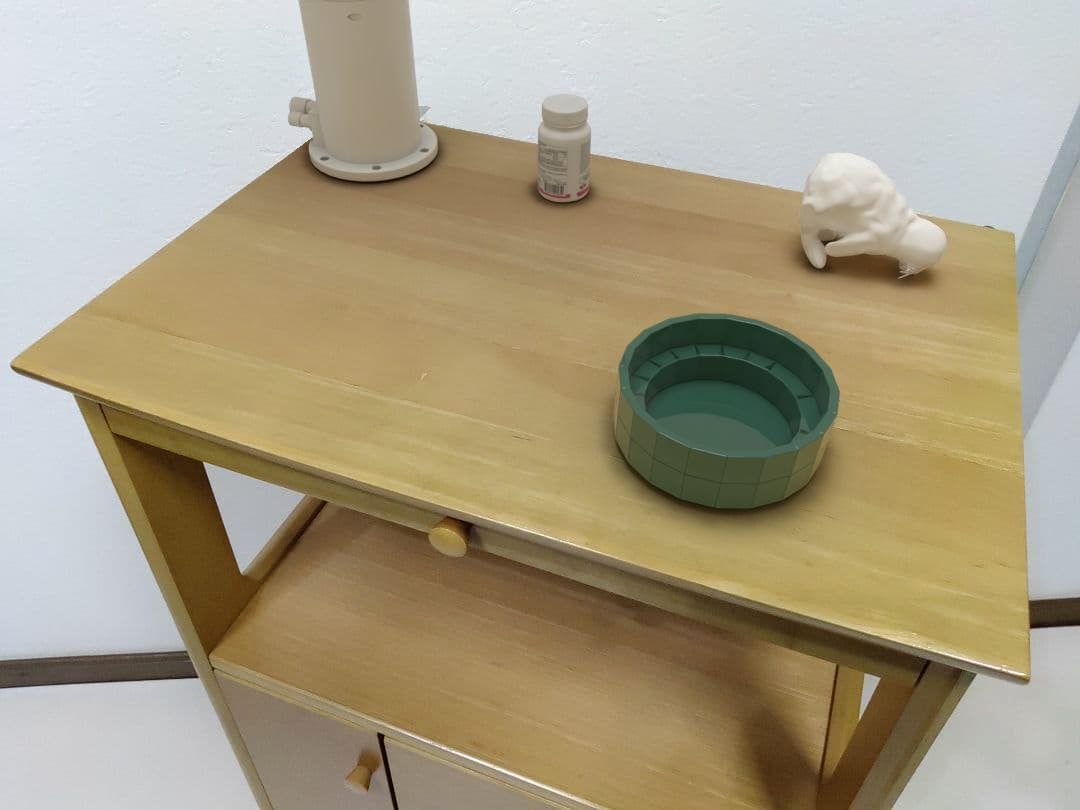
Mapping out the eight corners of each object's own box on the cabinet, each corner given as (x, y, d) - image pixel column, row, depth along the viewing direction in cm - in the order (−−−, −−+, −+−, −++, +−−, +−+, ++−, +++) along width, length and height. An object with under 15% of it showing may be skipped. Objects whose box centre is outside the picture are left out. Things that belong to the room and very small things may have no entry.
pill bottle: (573, 174, 79) (577, 88, 73) (597, 197, 76) (602, 108, 70) (529, 184, 78) (529, 97, 72) (551, 208, 74) (553, 118, 69)
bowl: (589, 483, 50) (593, 425, 47) (639, 353, 60) (646, 297, 56) (809, 539, 47) (831, 481, 44) (826, 393, 57) (845, 336, 53)
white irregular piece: (825, 132, 66) (978, 176, 64) (792, 222, 72) (930, 266, 70) (809, 165, 62) (971, 214, 59) (775, 258, 68) (921, 306, 65)
